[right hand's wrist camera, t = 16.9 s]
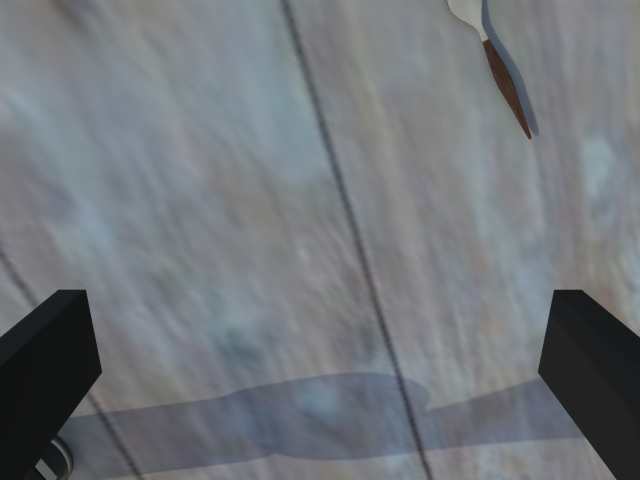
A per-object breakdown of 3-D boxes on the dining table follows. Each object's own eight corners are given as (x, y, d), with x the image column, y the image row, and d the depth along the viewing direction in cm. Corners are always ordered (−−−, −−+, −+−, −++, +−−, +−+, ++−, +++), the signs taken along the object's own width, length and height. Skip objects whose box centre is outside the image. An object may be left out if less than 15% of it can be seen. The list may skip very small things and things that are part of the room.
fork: (513, 146, 39) (523, 149, 37) (430, -33, 35) (436, -39, 33) (541, 130, 39) (553, 132, 37) (461, -53, 34) (469, -61, 32)
